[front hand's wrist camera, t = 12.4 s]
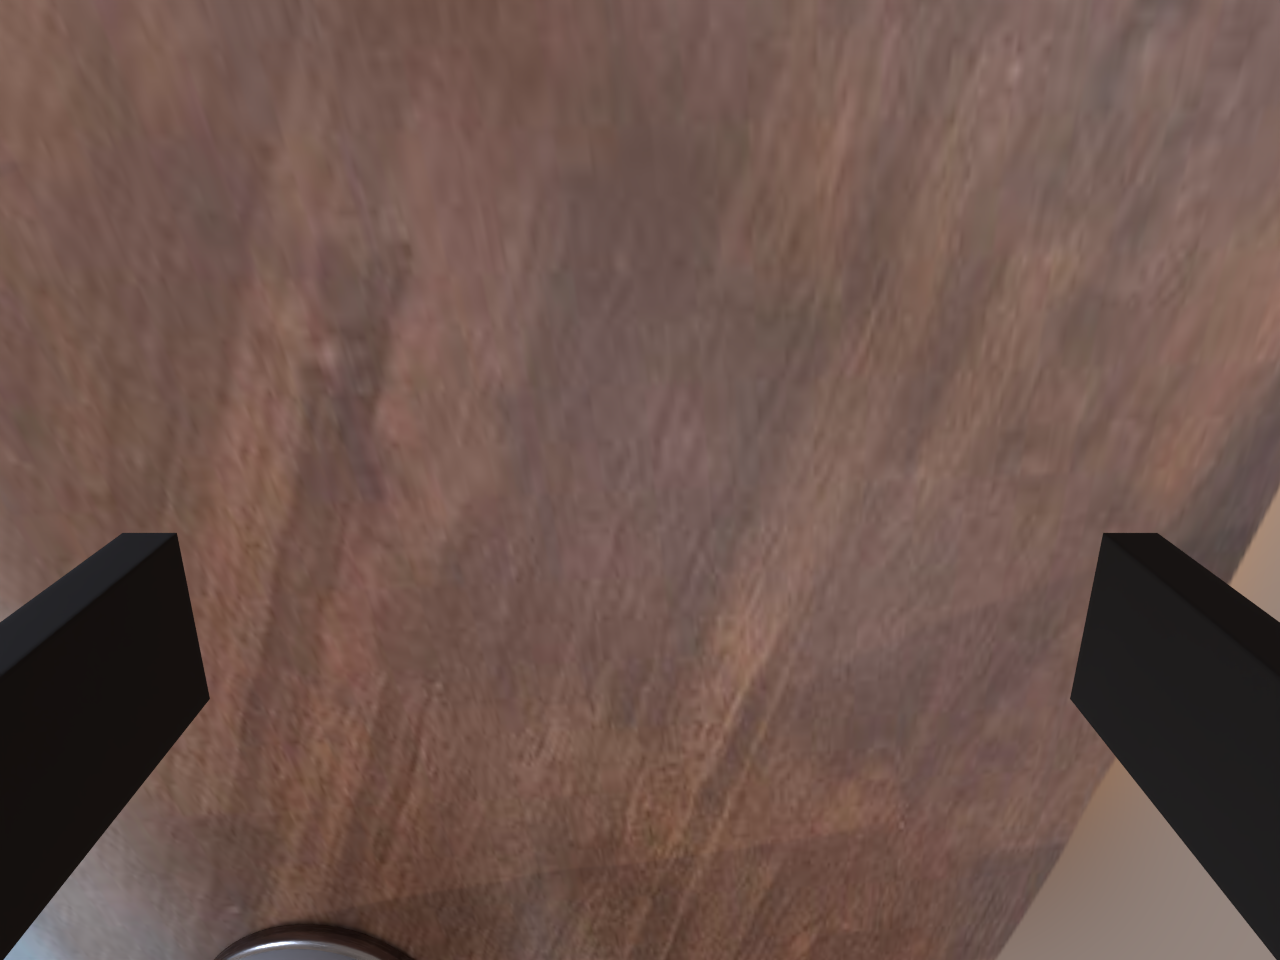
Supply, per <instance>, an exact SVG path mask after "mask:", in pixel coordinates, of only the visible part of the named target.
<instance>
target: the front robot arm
mask: <svg viewBox="0 0 1280 960" xmlns="http://www.w3.org/2000/svg"><path fill="white" fill-rule="evenodd" d="M209 699H210V697H209V692H208V687H207V682H206V677H205V672H204V667H203V662H202V657H201V652H200V647H199V642H198V637H197V632H196V627H195V622H194V617H193V612H192V607H191V602H190V597H189V592H188V587H187V582H186V577H185V572H184V567H183V562H182V557H181V552H180V547H179V542H178V537H177V533H122V534H121V535H119V536H118V537H117V538H115V539H114V540H112V541H111V542H110V543H108V544H107V545H106V546H104V547H103V548H102V549H100V550H99V551H97V552H96V553H95V554H93V555H92V556H91V557H89V558H88V559H86V560H85V561H84V562H82V563H81V564H80V565H78V566H77V567H76V568H74V569H73V570H71V571H70V572H69V573H67V574H66V575H65V576H63V577H62V578H60V579H59V580H58V581H56V582H55V583H54V584H52V585H51V586H50V587H48V588H47V589H45V590H44V591H43V592H41V593H40V594H39V595H37V596H36V597H34V598H33V599H32V600H30V601H29V602H28V603H26V604H25V605H24V606H22V607H21V608H19V609H18V610H17V611H15V612H14V613H13V614H11V615H10V616H9V617H7V618H6V619H4V620H3V621H2V622H0V960H4V958H5V957H6V956H7V954H8V953H9V952H10V951H11V949H12V948H13V947H14V946H15V944H16V943H17V942H18V941H19V939H20V938H21V937H22V936H23V934H24V933H25V932H26V930H27V929H28V928H29V927H30V925H31V924H32V923H33V922H34V920H35V919H36V918H37V917H38V915H39V914H40V913H41V912H42V910H43V909H44V908H45V906H46V905H47V904H48V903H49V901H50V900H51V899H52V898H53V896H54V895H55V894H56V893H57V891H58V890H59V889H60V887H61V886H62V885H63V884H64V882H65V881H66V880H67V879H68V877H69V876H70V875H71V874H72V872H73V871H74V870H75V869H76V867H77V866H78V865H79V863H80V862H81V861H82V860H83V858H84V857H85V856H86V855H87V853H88V852H89V851H90V850H91V848H92V847H93V846H94V845H95V843H96V842H97V841H98V839H99V838H100V837H101V836H102V834H103V833H104V832H105V831H106V829H107V828H108V827H109V826H110V824H111V823H112V822H113V820H114V819H115V818H116V817H117V815H118V814H119V813H120V812H121V810H122V809H123V808H124V807H125V805H126V804H127V803H128V802H129V800H130V799H131V798H132V796H133V795H134V794H135V793H136V791H137V790H138V789H139V788H140V786H141V785H142V784H143V783H144V781H145V780H146V779H147V778H148V776H149V775H150V774H151V772H152V771H153V770H154V769H155V767H156V766H157V765H158V764H159V762H160V761H161V760H162V759H163V757H164V756H165V755H166V753H167V752H168V751H169V750H170V748H171V747H172V746H173V745H174V743H175V742H176V741H177V740H178V738H179V737H180V736H181V735H182V733H183V732H184V731H185V729H186V728H187V727H188V726H189V724H190V723H191V722H192V721H193V719H194V718H195V717H196V716H197V714H198V713H199V712H200V711H201V709H202V708H203V707H204V705H205V704H206V703H207V702H208V700H209ZM1070 699H1071V700H1072V702H1073V703H1074V704H1075V705H1076V707H1077V708H1078V709H1079V711H1080V712H1081V713H1082V714H1083V716H1084V717H1085V718H1086V719H1087V721H1088V722H1089V723H1090V724H1091V726H1092V727H1093V728H1094V729H1095V731H1096V732H1097V733H1098V735H1099V736H1100V737H1101V738H1102V740H1103V741H1104V742H1105V743H1106V745H1107V746H1108V747H1109V748H1110V750H1111V751H1112V752H1113V753H1114V755H1115V756H1116V757H1117V759H1118V760H1119V761H1120V762H1121V764H1122V765H1123V766H1124V767H1125V769H1126V770H1127V771H1128V772H1129V774H1130V775H1131V776H1132V778H1133V779H1134V780H1135V781H1136V783H1137V784H1138V785H1139V786H1140V788H1141V789H1142V790H1143V791H1144V793H1145V794H1146V795H1147V796H1148V798H1149V799H1150V800H1151V802H1152V803H1153V804H1154V805H1155V807H1156V808H1157V809H1158V810H1159V812H1160V813H1161V814H1162V815H1163V817H1164V818H1165V819H1166V820H1167V822H1168V823H1169V824H1170V826H1171V827H1172V828H1173V829H1174V831H1175V832H1176V833H1177V834H1178V836H1179V837H1180V838H1181V839H1182V841H1183V842H1184V843H1185V845H1186V846H1187V847H1188V848H1189V850H1190V851H1191V852H1192V853H1193V855H1194V856H1195V857H1196V858H1197V860H1198V861H1199V862H1200V863H1201V865H1202V866H1203V867H1204V869H1205V870H1206V871H1207V872H1208V874H1209V875H1210V876H1211V877H1212V879H1213V880H1214V881H1215V882H1216V884H1217V885H1218V886H1219V887H1220V889H1221V890H1222V891H1223V893H1224V894H1225V895H1226V896H1227V898H1228V899H1229V900H1230V901H1231V903H1232V904H1233V905H1234V906H1235V908H1236V909H1237V910H1238V912H1239V913H1240V914H1241V915H1242V917H1243V918H1244V919H1245V920H1246V922H1247V923H1248V924H1249V925H1250V927H1251V928H1252V929H1253V930H1254V932H1255V933H1256V934H1257V936H1258V937H1259V938H1260V939H1261V940H1262V942H1263V943H1264V944H1265V946H1266V947H1267V948H1268V949H1269V951H1270V952H1271V953H1272V954H1273V956H1274V957H1275V958H1276V959H1277V960H1280V622H1278V621H1277V620H1276V619H1274V618H1273V617H1271V616H1270V615H1269V614H1267V613H1266V612H1265V611H1263V610H1262V609H1261V608H1259V607H1258V606H1256V605H1255V604H1254V603H1252V602H1251V601H1250V600H1248V599H1247V598H1245V597H1244V596H1243V595H1241V594H1240V593H1239V592H1237V591H1236V590H1235V589H1233V588H1232V587H1230V586H1229V585H1228V584H1226V583H1225V582H1224V581H1222V580H1221V579H1220V578H1218V577H1217V576H1215V575H1214V574H1213V573H1211V572H1210V571H1209V570H1207V569H1206V568H1204V567H1203V566H1202V565H1200V564H1199V563H1198V562H1196V561H1195V560H1194V559H1192V558H1191V557H1189V556H1188V555H1187V554H1185V553H1184V552H1183V551H1181V550H1180V549H1178V548H1177V547H1176V546H1174V545H1173V544H1172V543H1170V542H1169V541H1168V540H1166V539H1165V538H1163V537H1162V536H1161V535H1159V534H1158V533H1103V537H1102V542H1101V547H1100V552H1099V557H1098V562H1097V567H1096V572H1095V577H1094V582H1093V587H1092V592H1091V597H1090V602H1089V607H1088V612H1087V617H1086V622H1085V627H1084V632H1083V637H1082V642H1081V647H1080V652H1079V657H1078V662H1077V667H1076V672H1075V677H1074V682H1073V687H1072V692H1071V697H1070ZM214 960H410V959H409V958H408V957H407V956H405V955H404V954H402V953H401V952H400V951H398V950H396V949H395V948H393V947H391V946H390V945H388V944H386V943H384V942H382V941H380V940H378V939H375V938H373V937H370V936H368V935H365V934H362V933H359V932H356V931H352V930H348V929H344V928H339V927H333V926H326V925H315V924H299V925H287V926H280V927H274V928H270V929H265V930H262V931H259V932H256V933H253V934H251V935H249V936H246V937H244V938H242V939H240V940H238V941H236V942H235V943H233V944H232V945H230V946H229V947H227V948H226V949H225V950H223V951H222V952H221V953H220V954H219V955H218V956H217V957H216V958H215V959H214Z"/></svg>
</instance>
